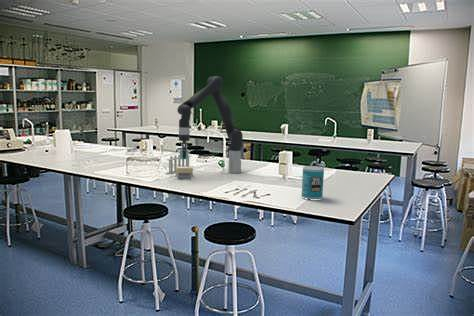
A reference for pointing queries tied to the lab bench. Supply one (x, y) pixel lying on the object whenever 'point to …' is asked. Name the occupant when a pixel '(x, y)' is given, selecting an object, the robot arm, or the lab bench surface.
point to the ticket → (184, 170)
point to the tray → (184, 175)
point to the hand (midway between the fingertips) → (184, 157)
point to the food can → (312, 182)
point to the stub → (186, 154)
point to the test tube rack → (176, 163)
